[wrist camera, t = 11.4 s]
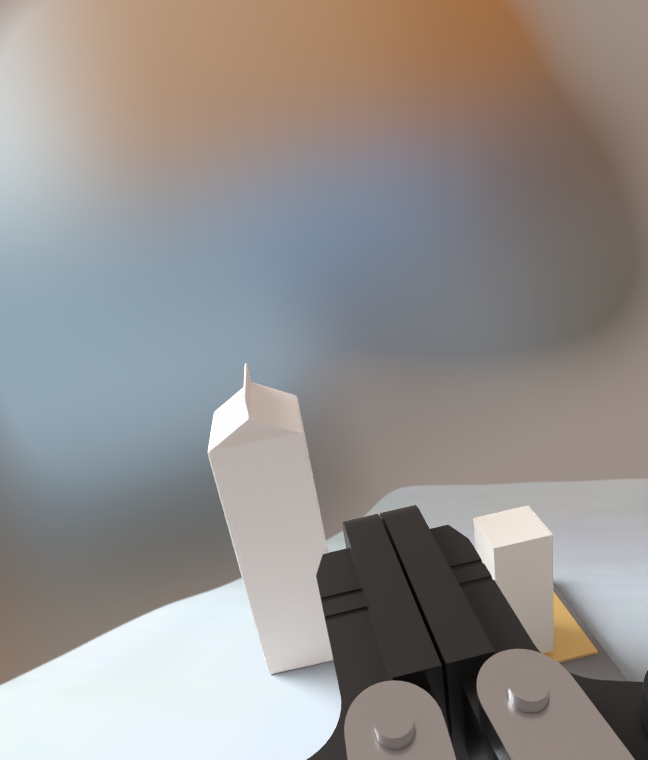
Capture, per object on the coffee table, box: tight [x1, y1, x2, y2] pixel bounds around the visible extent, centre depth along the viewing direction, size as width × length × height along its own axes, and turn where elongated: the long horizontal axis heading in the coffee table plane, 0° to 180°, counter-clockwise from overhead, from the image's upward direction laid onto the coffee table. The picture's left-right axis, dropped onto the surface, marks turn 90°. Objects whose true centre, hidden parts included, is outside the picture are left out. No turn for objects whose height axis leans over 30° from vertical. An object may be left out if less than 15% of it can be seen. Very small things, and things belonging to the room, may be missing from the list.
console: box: [542, 583, 627, 681], centre depth 32 cm, size 10×26×2 cm, turn 8°
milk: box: [208, 364, 333, 674], centre depth 40 cm, size 6×6×22 cm
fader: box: [473, 506, 554, 653], centre depth 35 cm, size 4×3×9 cm
